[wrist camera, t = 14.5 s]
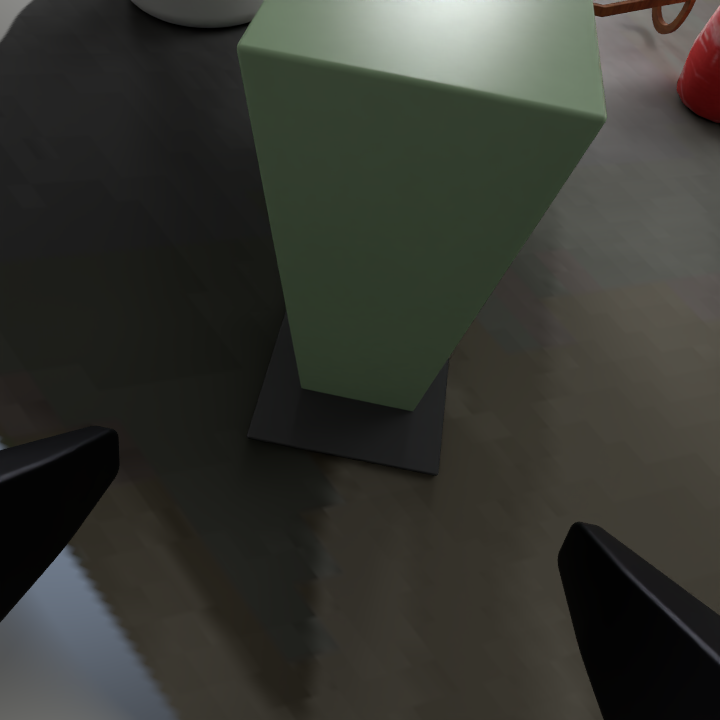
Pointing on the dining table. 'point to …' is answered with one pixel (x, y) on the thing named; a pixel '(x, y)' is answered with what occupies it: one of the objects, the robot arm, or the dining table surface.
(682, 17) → the glasses
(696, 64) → the water bottle
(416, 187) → the block
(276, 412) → the mat
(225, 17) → the cylinder vase
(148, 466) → the dining table surface
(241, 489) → the dining table surface
